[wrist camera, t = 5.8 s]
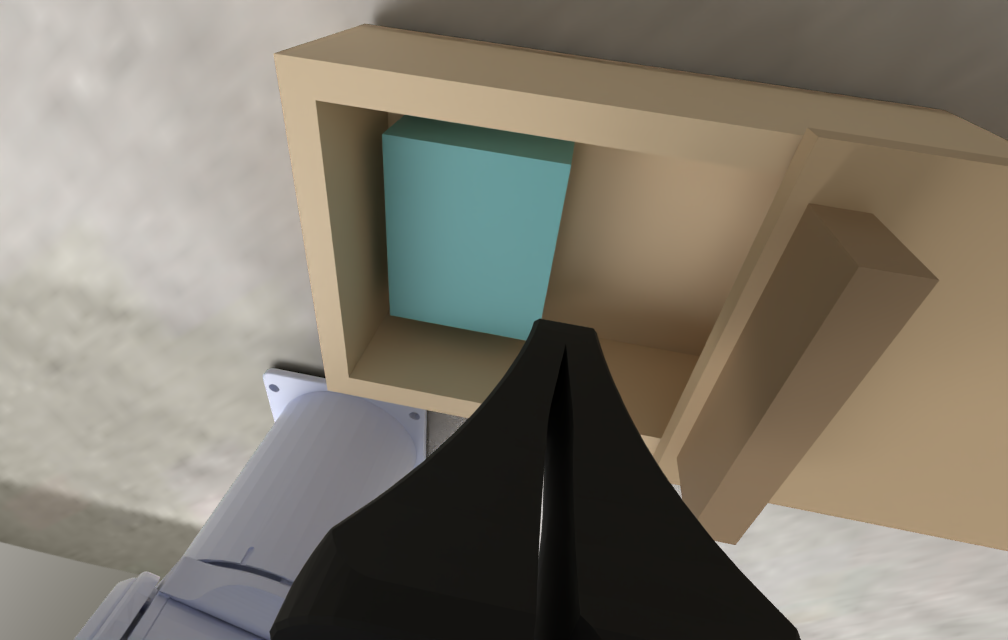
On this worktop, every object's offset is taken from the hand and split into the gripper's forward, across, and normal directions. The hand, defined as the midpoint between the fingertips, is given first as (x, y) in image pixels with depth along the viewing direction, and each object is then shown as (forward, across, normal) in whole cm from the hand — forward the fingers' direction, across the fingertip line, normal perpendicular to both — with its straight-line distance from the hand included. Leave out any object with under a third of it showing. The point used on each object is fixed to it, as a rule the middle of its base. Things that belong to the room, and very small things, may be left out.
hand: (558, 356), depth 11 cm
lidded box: (+7, -1, 0) cm, 7 cm away
